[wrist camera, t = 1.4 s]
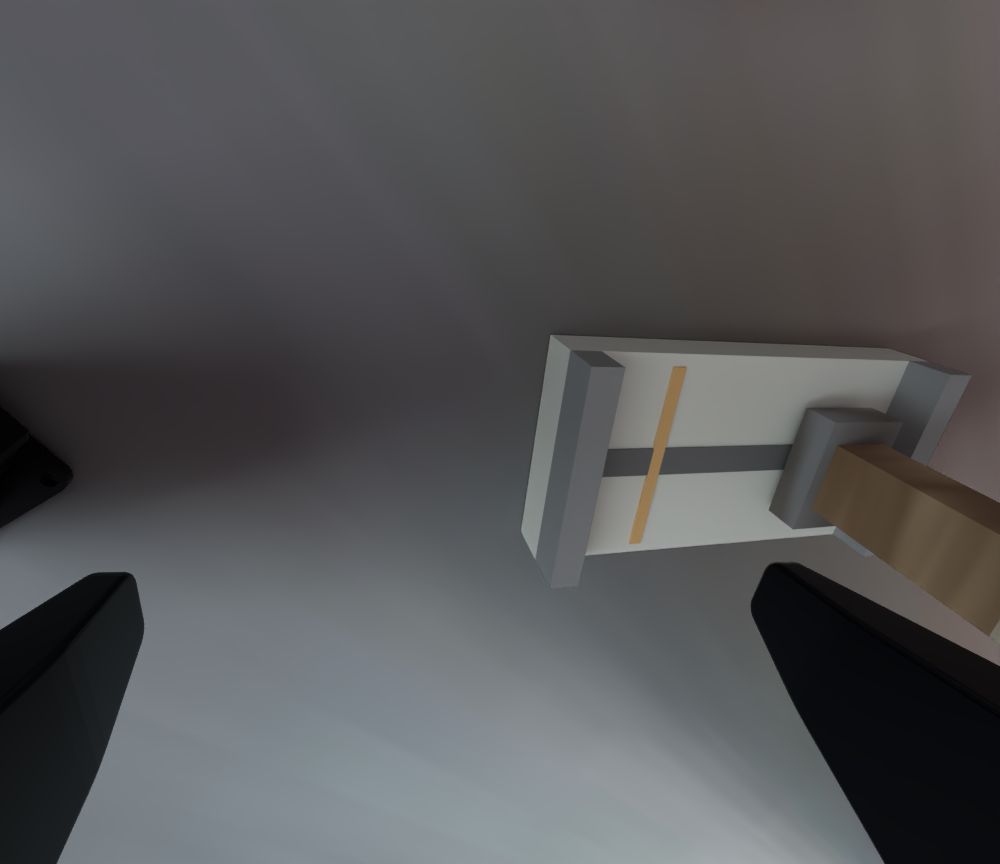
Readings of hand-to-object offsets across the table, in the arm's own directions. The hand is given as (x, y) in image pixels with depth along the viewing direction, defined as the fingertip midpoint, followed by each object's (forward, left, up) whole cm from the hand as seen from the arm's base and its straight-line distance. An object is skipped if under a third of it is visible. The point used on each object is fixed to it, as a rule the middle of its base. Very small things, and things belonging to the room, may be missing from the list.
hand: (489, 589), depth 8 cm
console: (+9, -11, -13) cm, 20 cm away
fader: (+13, -14, -11) cm, 21 cm away
